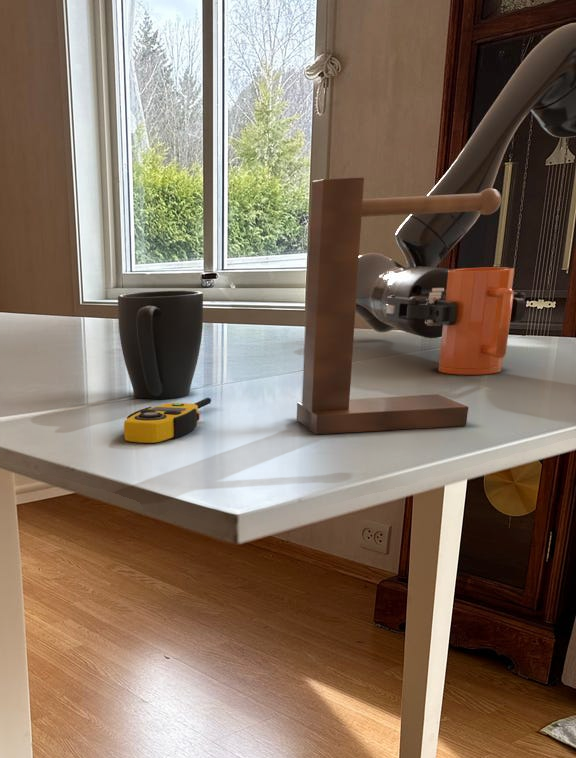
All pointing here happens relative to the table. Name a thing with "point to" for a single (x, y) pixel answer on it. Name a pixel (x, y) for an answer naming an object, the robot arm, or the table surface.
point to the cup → (477, 320)
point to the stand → (337, 312)
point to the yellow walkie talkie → (162, 422)
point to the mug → (161, 340)
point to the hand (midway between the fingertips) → (486, 312)
